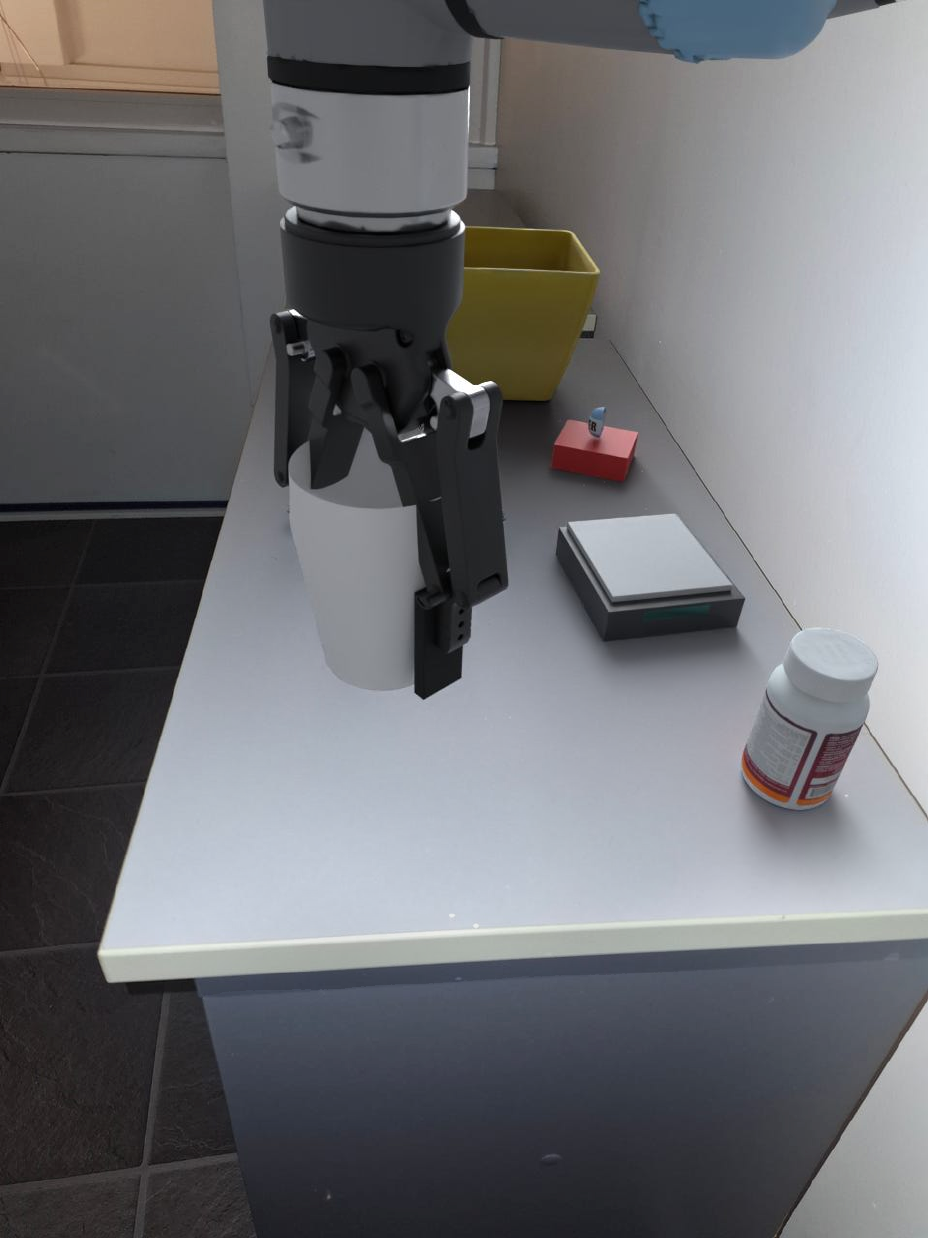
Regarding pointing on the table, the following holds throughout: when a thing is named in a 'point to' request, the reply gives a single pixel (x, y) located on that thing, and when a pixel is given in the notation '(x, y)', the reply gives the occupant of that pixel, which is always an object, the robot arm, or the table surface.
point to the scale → (646, 577)
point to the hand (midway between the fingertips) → (383, 643)
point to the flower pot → (520, 309)
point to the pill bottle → (809, 718)
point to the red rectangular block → (594, 448)
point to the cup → (359, 567)
